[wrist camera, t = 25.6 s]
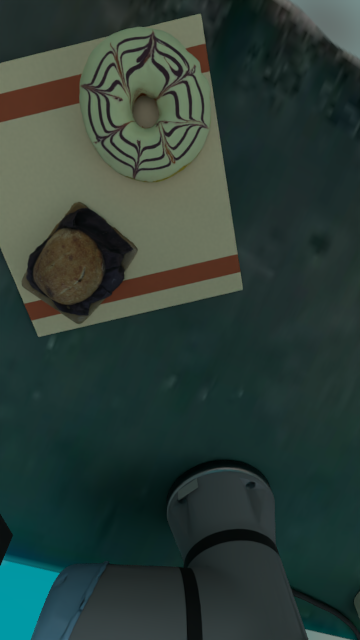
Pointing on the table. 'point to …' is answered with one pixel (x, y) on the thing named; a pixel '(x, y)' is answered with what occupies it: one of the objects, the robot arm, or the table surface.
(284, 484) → the table surface
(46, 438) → the table surface
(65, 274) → the bread roll
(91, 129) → the decorated donut
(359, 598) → the reusable coffee cup
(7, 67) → the towel
